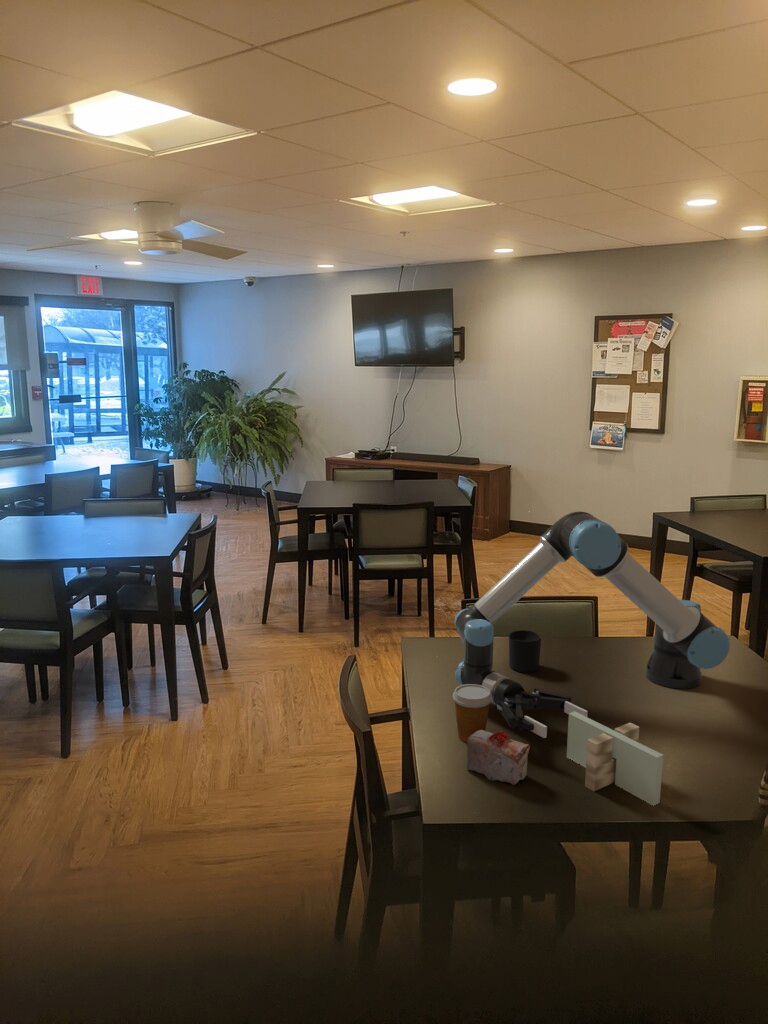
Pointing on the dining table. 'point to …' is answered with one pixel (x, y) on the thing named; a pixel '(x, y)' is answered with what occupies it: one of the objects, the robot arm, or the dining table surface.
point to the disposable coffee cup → (471, 709)
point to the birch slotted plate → (604, 757)
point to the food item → (497, 756)
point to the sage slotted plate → (619, 758)
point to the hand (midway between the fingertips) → (566, 724)
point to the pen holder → (524, 651)
